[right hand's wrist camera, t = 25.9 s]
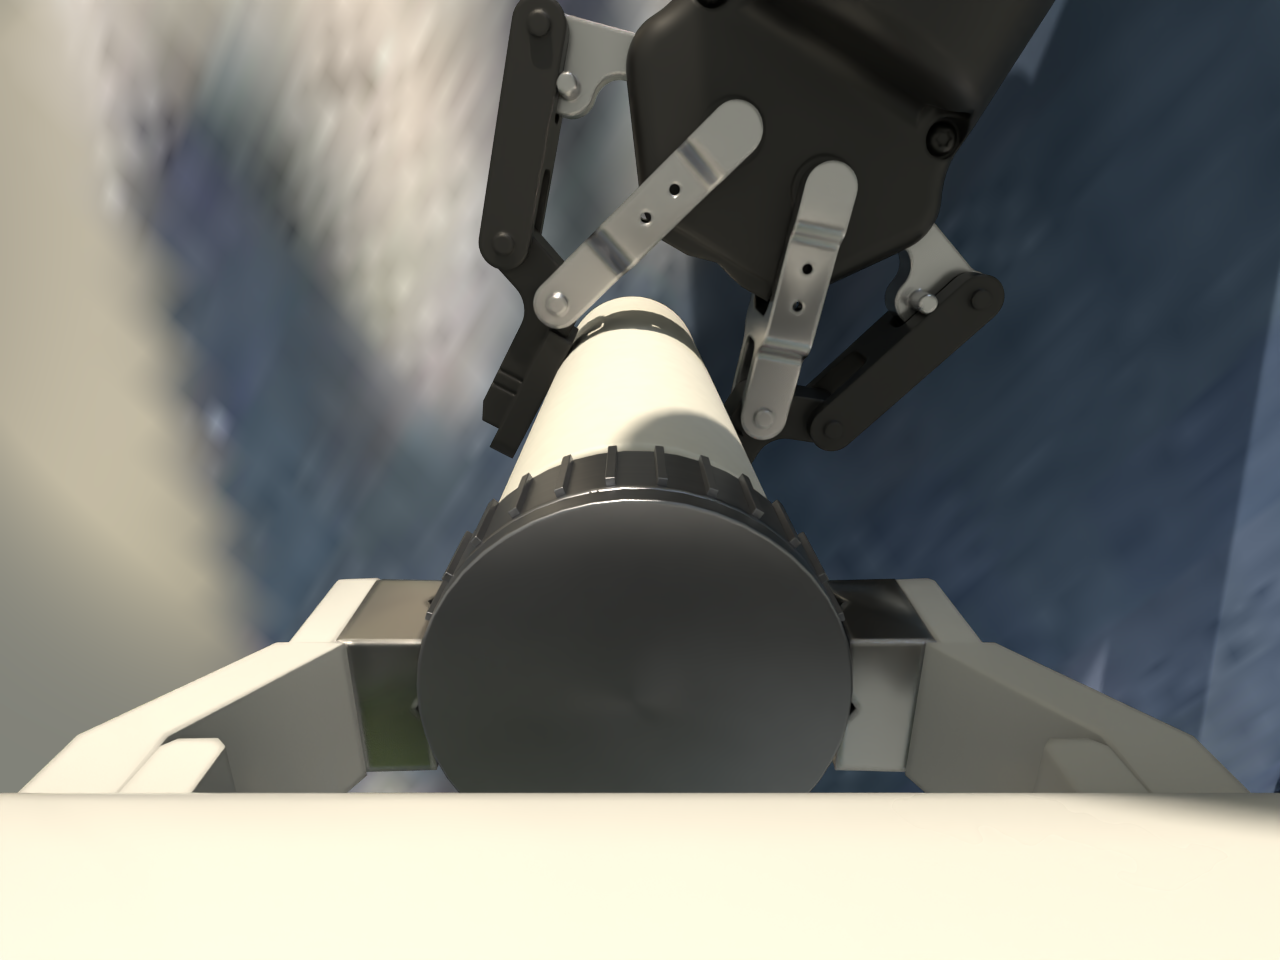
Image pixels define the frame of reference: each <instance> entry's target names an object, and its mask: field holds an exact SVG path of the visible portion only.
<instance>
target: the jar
mask: <svg viewBox="0 0 1280 960" xmlns="http://www.w3.org/2000/svg"><path fill="white" fill-rule="evenodd" d="M577 328H578V329H579V330H578V332H577V335H576V337H575V339H574V342H573V344H572V346H571V348H570V350H569V352H568V354H567V355H566V357H565V359H564V361H563V363H562V365H561V367H560V368H559V370H558V371H557V374H556V376H555V378H554V380H553V382H552V384H551V387H550V389H549V391H548V393H547V396H546V398H545V400H544V402H543V405H542V407H541V409H540V411H539V414H538V416H537V418H536V420H535V423H534V425H533V427H532V429H531V432H530V434H529V436H528V438H527V440H526V443H525V445H524V447H523V449H522V452H521V454H520V456H519V458H518V461H517V463H516V465H515V467H514V470H513V472H512V474H511V476H510V479H509V481H508V483H507V485H506V488H505V490H504V492H503V494H502V497H501V499H500V501H501V500H503V499H504V498H505V497H506V496H507V495H508V494H510V493H511V492H512V491H514V490H515V489H516V488H518V486H519V483H520V481H521V478H522V476H524V475H526V474H527V473H530V474H531V476H532V477H535V476H537V475H539V474H541V473H543V472H545V471H546V470H548V469H551V468H553V467H556V466H558V465H561V462H562V459H563V457H564V456H567V455H570V454H571V455H572V458H573V460H575V459H579V458H583V457H587V456H591V455H596V454H601V453H607V452H608V446H615V445H616V446H617V450H618V452H619V451H653V452H654V448H655V446H663V447H664V453H667V454H675V455H680V456H683V457H687V458H691V459H694V460H699V457H700V455H703V456H706V457H709V460H710V464H711V465H712V466H714V467H716V468H719V469H721V470H724V471H726V472H728V473H730V474H731V475H733V476H735V477H737V478H739V477H740V475H741V474H742V473H743V474H744V475H746V476H748V477H749V479H750V481H751V483H752V486H753V488H754V489H755V490H756V491H757V492H759V493H760V494H761V495H763V496H764V497H765V498H766V495H765V493H764V491H763V489H762V487H761V485H760V483H759V480H758V478H757V476H756V474H755V472H754V470H753V467H752V465H751V463H750V461H749V459H748V457H747V455H746V452H745V450H744V448H743V446H742V444H741V442H740V440H739V437H738V435H737V433H736V431H735V429H734V427H733V425H732V422H731V420H730V418H729V416H728V414H727V412H726V410H725V407H724V405H723V403H722V401H721V399H720V397H719V395H718V392H717V390H716V388H715V386H714V384H713V382H712V380H711V377H710V375H709V373H708V371H707V369H706V367H705V365H704V362H703V360H702V358H701V356H700V354H699V352H698V349H697V347H696V345H695V343H694V341H693V339H692V337H691V334H690V332H689V330H688V329H687V327H686V325H685V324H684V322H683V321H682V320H681V319H680V318H679V316H677V315H676V314H675V313H674V312H673V311H672V310H670V309H669V308H668V307H666V306H664V305H663V304H661V303H659V302H656V301H654V300H651V299H647V298H642V297H622V298H617V299H614V300H611V301H608V302H606V303H604V304H602V305H600V306H598V307H597V308H595V309H594V310H592V311H591V312H590V313H589V314H588V315H587V316H586V317H585V318H584V319H583V320H582V321H581V323H580V324H579V326H578V327H577ZM500 501H499V502H500Z"/></svg>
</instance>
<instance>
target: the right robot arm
mask: <svg viewBox="0 0 1280 960" xmlns="http://www.w3.org/2000/svg"><path fill="white" fill-rule="evenodd" d="M442 581H443V580H400V579H381V580H380V579H378V578H369V579H343V580H338V581H337V582H336V583H335V584H334V586H333V587H332V588H331V590H330V591H329V592H328V593H327V595H326V596H325V597H324V598H323V600H322V601H321V602H320V604H319V605H318V606H317V607H316V609H315V610H314V611H313V612H312V614H311V615H310V616H309V618H308V619H307V620H306V621H305V623H304V624H303V625H302V626H301V628H300V629H299V630H298V632H297V633H296V634H295V635H294V637H293V638H292V639H291V640H290V642H283V643H275V644H273V645H270V646H268V647H266V648H264V649H262V650H260V651H257V652H255V653H253V654H251V655H249V656H247V657H245V658H242V659H240V660H238V661H236V662H234V663H232V664H230V665H227V666H225V667H223V668H221V669H219V670H217V671H214V672H212V673H210V674H208V675H206V676H204V677H202V678H200V679H197V680H195V681H193V682H191V683H189V684H187V685H184V686H182V687H180V688H178V689H176V690H174V691H172V692H169V693H167V694H165V695H163V696H161V697H159V698H157V699H154V700H152V701H150V702H148V703H146V704H144V705H141V706H139V707H137V708H135V709H133V710H131V711H128V712H126V713H124V714H122V715H120V716H118V717H116V718H113V719H111V720H109V721H107V722H105V723H103V724H101V725H98V726H96V727H94V728H92V729H90V730H88V731H85V732H83V733H81V734H79V735H77V736H76V737H75V738H74V739H73V740H72V741H71V742H70V743H69V744H68V745H67V746H66V747H65V748H64V749H63V750H62V751H61V752H60V753H58V754H57V755H56V756H55V757H54V758H53V759H52V760H51V761H50V762H49V763H48V764H47V765H46V766H45V767H44V768H43V769H42V770H41V771H40V772H39V773H38V774H37V775H36V776H35V777H34V778H32V779H31V780H30V781H29V782H28V783H27V784H26V785H25V786H24V787H23V788H22V789H21V790H20V791H19V792H18V793H0V960H1280V793H1250V792H1249V791H1248V790H1247V789H1246V788H1245V787H1244V786H1243V785H1242V784H1241V783H1240V782H1239V781H1238V780H1237V779H1236V778H1235V777H1234V776H1233V775H1232V774H1231V773H1230V772H1229V771H1228V770H1227V769H1226V768H1225V767H1224V766H1223V765H1222V764H1221V763H1220V762H1219V761H1218V760H1217V759H1216V758H1215V757H1214V756H1213V755H1212V754H1211V753H1210V752H1209V751H1208V750H1207V749H1206V748H1205V747H1204V746H1203V745H1202V744H1201V743H1200V742H1199V741H1198V740H1197V739H1196V738H1195V737H1194V736H1192V735H1190V734H1187V733H1185V732H1183V731H1181V730H1179V729H1177V728H1175V727H1173V726H1170V725H1168V724H1166V723H1164V722H1162V721H1160V720H1158V719H1156V718H1154V717H1151V716H1149V715H1147V714H1145V713H1143V712H1141V711H1139V710H1137V709H1134V708H1132V707H1130V706H1128V705H1126V704H1124V703H1122V702H1120V701H1117V700H1115V699H1113V698H1111V697H1109V696H1107V695H1105V694H1103V693H1101V692H1098V691H1096V690H1094V689H1092V688H1090V687H1088V686H1086V685H1084V684H1081V683H1079V682H1077V681H1075V680H1073V679H1071V678H1069V677H1067V676H1064V675H1062V674H1060V673H1058V672H1056V671H1054V670H1052V669H1050V668H1048V667H1045V666H1043V665H1041V664H1039V663H1037V662H1035V661H1033V660H1031V659H1028V658H1026V657H1024V656H1022V655H1020V654H1018V653H1016V652H1014V651H1011V650H1009V649H1007V648H1005V647H1003V646H1001V645H999V644H997V643H989V642H982V641H981V640H980V639H979V637H978V636H977V635H976V633H975V632H974V631H973V630H972V628H971V627H970V626H969V624H968V623H967V622H966V621H965V619H964V618H963V617H962V615H961V614H960V613H959V611H958V610H957V609H956V608H955V606H954V605H953V604H952V602H951V601H950V600H949V598H948V597H947V596H946V595H945V593H944V592H943V591H942V589H941V588H940V587H939V586H938V584H937V583H936V582H935V581H934V580H931V579H929V578H920V579H898V580H895V579H868V580H828V581H827V582H828V584H829V586H830V588H831V590H832V592H833V594H834V596H835V598H836V600H837V602H838V604H839V606H840V608H841V609H842V611H843V614H844V617H845V620H844V621H841V623H842V626H843V628H844V631H845V634H846V637H847V640H848V644H849V650H850V655H851V661H852V670H853V693H852V701H851V708H850V715H849V718H848V722H847V725H846V729H845V732H844V736H843V739H842V741H841V743H840V745H839V747H838V750H837V752H836V754H835V756H834V758H833V760H832V761H833V764H834V767H835V770H857V771H894V772H905V775H906V776H907V777H908V778H909V779H910V780H912V781H913V782H914V783H915V784H916V785H917V786H918V787H919V788H921V789H922V790H923V791H924V792H925V793H347V792H348V791H349V790H350V789H352V788H353V787H354V786H355V785H356V784H357V783H358V782H360V781H361V780H362V779H363V778H364V777H365V776H367V774H366V772H377V771H413V770H437V767H438V762H437V760H436V759H435V757H434V755H433V752H432V750H431V748H430V745H429V743H428V741H427V738H426V736H425V732H424V728H423V725H422V721H421V717H420V713H419V707H418V697H417V687H416V685H417V667H418V659H419V654H420V649H421V645H422V640H423V637H424V634H425V631H426V629H427V626H428V624H429V621H427V620H425V616H426V613H427V611H428V609H429V607H430V605H431V603H432V601H433V599H434V597H435V595H436V593H437V591H438V589H439V587H440V585H441V583H442Z"/></svg>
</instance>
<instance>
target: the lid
mask: <svg viewBox="0 0 1280 960" xmlns="http://www.w3.org/2000/svg"><path fill="white" fill-rule="evenodd" d="M442 580H443V581H442V583H441V585H440V587H439V589H438V591H437V593H436V595H435V597H434V599H433V601H432V603H431V605H430V607H429V609H428V611H427V613H426V616H425V620H427V621H429V624H428V626H427V629H426V631H425V634H424V637H423V640H422V645H421V649H420V654H419V659H418V667H417V685H416V687H417V697H418V707H419V713H420V717H421V721H422V725H423V728H424V732H425V736H426V738H427V741H428V743H429V745H430V748H431V750H432V752H433V755H434V757H435V759H436V760H437V762H438V764H439V765H440V767H441V769H442V770H443V772H444V774H445V775H446V777H447V778H448V780H449V781H450V782H451V783H452V785H453V786H454V787H455V788H456V790H457V791H458V792H459V793H810V791H811V790H812V789H813V788H814V787H815V785H816V784H817V783H818V782H819V781H820V779H821V778H822V776H823V775H824V773H825V771H826V770H827V768H828V767H829V765H830V764H831V762H832V760H833V758H834V756H835V754H836V752H837V750H838V747H839V745H840V743H841V741H842V739H843V736H844V732H845V729H846V725H847V722H848V718H849V715H850V708H851V701H852V693H853V670H852V661H851V655H850V650H849V644H848V640H847V637H846V634H845V631H844V628H843V626H842V623H841V621H844V620H845V617H844V614H843V611H842V609H841V608H840V606H839V604H838V602H837V600H836V598H835V596H834V594H833V592H832V590H831V588H830V586H829V584H828V582H827V581H828V580H829V579H828V577H827V575H826V573H825V571H824V569H823V567H822V565H821V564H820V562H819V560H818V558H817V556H816V554H815V552H814V550H813V548H812V546H811V544H810V543H809V541H808V539H807V537H806V535H805V534H804V532H802V533H800V534H798V535H797V533H796V531H795V529H794V527H793V525H792V523H791V521H790V519H789V517H788V515H787V513H786V511H785V509H784V507H783V505H782V504H781V503H780V502H779V501H778V500H776V501H774V502H773V503H771V502H770V501H769V500H768V499H767V498H765V497H764V496H763V495H761V494H760V493H759V492H757V491H756V490H755V489H754V488H753V486H752V483H751V481H750V479H749V477H748V476H746V475H744V474H743V473H742V474H741V475H740V477H739V478H737V477H735V476H733V475H731V474H730V473H728V472H726V471H724V470H721V469H719V468H716V467H714V466H712V465H711V464H710V460H709V457H706V456H703V455H700V457H699V460H694V459H691V458H687V457H683V456H680V455H675V454H667V453H664V447H663V446H655V448H654V452H653V451H619V452H618V450H617V446H616V445H615V446H608V452H607V453H601V454H596V455H591V456H587V457H583V458H579V459H575V460H573V458H572V455H571V454H570V455H567V456H564V457H563V459H562V462H561V465H558V466H556V467H553V468H551V469H548V470H546V471H545V472H543V473H541V474H539V475H537V476H535V477H532V476H531V474H530V473H527V474H526V475H524V476H522V478H521V481H520V483H519V486H518V488H516V489H515V490H514V491H512V492H511V493H510V494H508V495H507V496H506V497H505V498H504V499H503V500H501V501H500V502H499V503H498V502H497V501H496V500H495V499H493V500H492V501H491V502H490V503H489V504H488V506H487V508H486V510H485V512H484V514H483V516H482V518H481V520H480V522H479V524H478V526H477V528H476V530H475V531H474V533H473V534H472V533H470V532H468V531H466V533H465V534H464V536H463V538H462V540H461V542H460V544H459V546H458V548H457V550H456V552H455V554H454V556H453V558H452V560H451V561H450V563H449V565H448V567H447V569H446V571H445V573H444V575H443V577H442Z"/></svg>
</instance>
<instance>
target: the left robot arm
mask: <svg viewBox="0 0 1280 960" xmlns="http://www.w3.org/2000/svg"><path fill="white" fill-rule="evenodd" d="M1054 2H1055V0H672V1H671V2H670V3H669V4H668V5H667V6H665V7H664V8H663V9H662V10H660V11H659V12H657V13H656V14H655V15H653V16H652V17H650V18H649V19H648V20H646V21H645V22H644V23H643V24H642V25H641V27H640V28H639V29H638V30H637V32H636V33H634V32H630V31H626V30H622V29H619V28H615V27H611V26H607V25H604V24H600V23H596V22H592V21H589V20H585V19H581V18H578V17H574V16H570V15H567V14H565V13H564V11H563V9H562V7H561V6H560V5H559V3H558V2H557V1H556V0H520V1H519V3H518V4H517V6H516V7H515V10H514V12H513V16H512V22H511V29H510V36H509V42H508V49H507V55H506V62H505V69H504V75H503V82H502V89H501V95H500V102H499V109H498V115H497V122H496V128H495V135H494V142H493V148H492V155H491V162H490V168H489V175H488V182H487V188H486V195H485V201H484V208H483V215H482V221H481V228H480V235H479V249H480V252H481V254H482V256H483V258H484V259H485V260H486V261H487V263H489V264H490V265H491V266H493V267H495V268H498V269H499V270H500V271H501V272H502V273H503V274H504V276H505V277H506V278H507V279H508V280H509V281H510V282H511V283H512V284H513V286H514V287H515V288H516V289H517V290H518V292H519V293H520V295H521V297H522V300H523V303H524V318H523V321H522V324H521V326H520V328H519V330H518V332H517V334H516V336H515V338H514V340H513V342H512V344H511V346H510V348H509V350H508V352H507V354H506V356H505V358H504V360H503V362H502V364H501V366H500V369H499V370H498V372H497V374H496V376H495V378H494V381H493V383H492V384H491V386H490V388H489V390H488V392H487V395H486V397H485V399H484V401H483V417H482V420H483V421H485V422H487V423H489V424H491V425H493V426H495V427H497V428H499V429H498V431H497V433H496V435H495V437H494V439H493V441H492V443H491V445H490V447H491V448H493V449H495V450H497V451H499V452H501V453H503V454H505V455H507V456H509V457H511V458H513V457H514V455H515V453H516V451H517V449H518V447H519V445H520V443H521V441H522V439H523V438H524V436H525V434H526V432H527V430H528V428H529V426H530V424H531V422H532V420H533V418H534V417H535V415H536V413H537V411H538V409H539V407H540V405H541V403H542V401H543V399H544V397H545V396H546V394H547V392H548V390H549V388H550V386H551V384H552V382H553V380H554V378H555V376H556V374H557V371H558V370H559V368H560V367H561V365H562V363H563V361H564V359H565V357H566V355H567V354H568V352H569V350H570V348H571V346H572V344H573V342H574V339H575V337H576V335H577V332H578V330H579V329H578V328H576V327H574V324H575V322H576V321H577V319H578V318H579V317H580V316H581V315H582V314H583V313H584V312H585V311H586V310H588V309H589V308H590V307H591V306H592V305H593V304H594V303H595V302H596V301H597V300H598V299H599V298H600V297H601V296H602V295H603V294H604V293H605V292H606V291H607V290H608V289H609V288H610V287H611V286H612V285H613V284H614V283H615V282H616V281H617V280H618V279H619V278H621V277H622V276H623V275H624V274H625V273H626V272H628V271H629V270H630V269H631V268H632V267H633V266H634V265H636V264H637V263H638V262H639V261H640V260H641V259H642V258H643V257H644V256H645V255H646V254H647V253H648V252H649V251H650V250H651V249H652V248H653V247H654V246H655V245H656V244H657V243H658V242H659V241H660V240H663V241H664V242H666V243H668V244H669V245H671V246H673V247H675V248H676V249H678V250H680V251H681V252H683V253H685V254H687V255H690V256H694V257H697V258H701V259H705V260H709V261H713V262H716V263H718V264H719V265H720V266H721V267H722V268H723V269H724V270H725V271H726V272H727V273H728V274H729V275H730V276H731V278H732V279H734V280H735V281H736V282H737V283H738V284H739V285H740V286H742V287H743V288H745V289H747V290H748V291H750V292H752V294H751V298H750V302H749V307H748V311H747V315H746V320H745V333H744V340H743V344H742V348H741V352H740V356H739V360H738V365H737V369H736V373H735V377H734V381H733V385H732V389H731V394H730V396H729V397H728V399H727V401H726V402H725V404H724V407H725V410H726V412H727V414H728V416H729V418H730V420H731V422H732V425H733V427H734V429H735V431H736V433H737V435H738V437H739V440H740V442H741V444H742V446H743V448H744V450H745V452H746V455H747V457H748V459H749V461H750V463H751V464H752V462H753V460H754V459H755V457H756V456H757V454H758V453H759V451H760V450H761V449H762V448H763V447H764V446H765V445H766V444H768V443H770V442H772V441H774V440H777V439H794V440H800V441H807V442H814V443H815V444H816V445H817V446H818V447H819V448H821V449H823V450H826V451H836V450H840V449H842V448H844V447H845V446H847V445H848V444H849V443H850V442H852V441H853V440H854V439H855V438H856V437H857V436H858V435H860V434H861V433H862V432H863V431H864V430H865V429H866V428H868V427H869V426H870V425H871V424H872V423H873V422H874V421H876V420H877V419H878V418H879V417H880V416H881V415H882V414H884V413H885V412H886V411H887V410H888V409H889V408H890V407H892V406H893V405H894V404H895V403H896V402H897V401H898V400H900V399H901V398H902V397H903V396H904V395H905V394H906V393H908V392H909V391H910V390H911V389H912V388H913V387H914V386H916V385H917V384H918V383H919V382H920V381H921V380H922V379H924V378H925V377H926V376H927V375H928V374H929V373H930V372H932V371H933V370H934V369H935V368H936V367H937V366H938V365H940V364H941V363H942V362H943V361H944V360H945V359H946V358H948V357H949V356H950V355H951V354H952V353H953V352H954V351H956V350H957V349H958V348H959V347H960V346H961V345H962V344H964V343H965V342H966V341H967V340H968V339H969V338H970V337H972V336H973V335H974V334H975V333H976V332H977V331H978V330H980V329H981V328H982V327H983V326H984V325H985V324H986V323H988V322H989V321H990V320H991V319H992V318H993V317H994V316H995V315H996V314H997V313H998V312H999V311H1000V309H1001V307H1002V305H1003V302H1004V289H1003V286H1002V284H1001V283H1000V282H999V280H997V279H996V278H995V277H993V276H990V275H986V274H983V273H981V272H978V271H975V270H973V269H972V268H971V267H970V266H969V264H968V263H967V262H966V261H965V259H964V258H963V257H962V256H961V255H960V253H959V252H958V251H957V250H956V249H955V247H954V246H953V245H952V244H951V242H950V241H949V240H948V239H947V238H946V236H945V235H944V234H943V233H942V232H941V230H940V229H939V228H938V227H937V225H936V224H935V221H936V219H937V216H938V214H939V210H940V206H941V197H942V189H943V184H944V180H945V176H946V173H947V170H948V167H949V165H950V163H951V160H952V159H953V157H954V155H955V154H956V152H957V150H958V149H959V148H960V146H961V145H962V143H963V142H964V141H965V139H966V138H967V136H968V135H969V133H970V132H971V131H972V129H973V128H974V126H975V125H976V123H977V121H978V120H979V118H980V117H981V115H982V114H983V112H984V111H985V109H986V107H987V106H988V104H989V103H990V101H991V100H992V98H993V96H994V95H995V93H996V92H997V90H998V89H999V87H1000V86H1001V84H1002V82H1003V81H1004V79H1005V78H1006V76H1007V75H1008V73H1009V72H1010V70H1011V68H1012V67H1013V65H1014V64H1015V62H1016V61H1017V59H1018V57H1019V56H1020V54H1021V53H1022V51H1023V50H1024V48H1025V47H1026V45H1027V43H1028V42H1029V40H1030V39H1031V37H1032V36H1033V34H1034V33H1035V31H1036V29H1037V28H1038V26H1039V25H1040V23H1041V22H1042V20H1043V19H1044V17H1045V15H1046V14H1047V12H1048V11H1049V9H1050V8H1051V6H1052V5H1053V3H1054ZM616 80H624V81H627V87H628V96H629V104H630V113H631V122H632V131H633V139H634V148H635V157H636V166H637V174H638V183H639V188H638V189H637V190H636V191H635V192H634V193H633V194H632V195H631V196H630V197H629V198H628V199H627V200H626V201H625V202H624V203H623V204H622V205H621V206H620V207H619V208H618V209H617V210H616V211H615V212H614V213H613V214H612V215H611V216H610V217H609V218H608V219H607V220H606V221H605V222H604V223H603V224H602V225H601V226H600V227H599V228H598V229H597V230H596V231H595V232H594V233H593V234H592V235H591V236H590V237H589V238H588V239H587V240H586V241H585V242H584V243H583V244H582V245H581V246H580V247H579V248H578V249H577V250H576V251H575V252H574V253H573V254H572V255H571V256H570V257H569V258H568V259H567V260H566V261H565V262H564V260H563V259H562V258H561V257H560V256H559V255H558V254H557V252H556V251H555V250H554V249H553V248H552V247H551V246H550V244H549V243H548V242H547V241H546V240H545V239H544V237H543V236H542V229H543V224H544V218H545V212H546V207H547V201H548V196H549V190H550V184H551V179H552V173H553V168H554V162H555V156H556V151H557V145H558V140H559V134H560V128H561V123H562V117H563V118H566V119H579V118H581V117H583V116H585V115H586V114H588V113H589V112H590V110H591V109H592V107H593V105H594V103H595V100H596V97H597V95H598V93H599V91H600V90H601V89H602V88H603V87H604V86H605V85H606V84H608V83H610V82H612V81H616ZM643 213H645V216H646V218H647V219H643V218H641V215H642V214H643ZM897 253H898V254H899V259H900V265H899V270H898V273H897V275H896V276H895V278H894V279H893V280H892V282H891V283H890V284H889V286H888V287H887V290H886V293H885V304H886V307H887V309H888V312H886V313H885V314H884V315H883V316H882V317H881V318H880V319H879V320H878V321H877V322H876V323H874V324H873V325H872V326H871V327H870V328H869V329H868V330H867V331H866V332H865V333H864V334H862V335H861V336H860V337H859V338H858V339H857V340H856V341H855V342H854V343H853V344H852V345H850V346H849V347H848V348H847V349H846V350H845V351H844V352H843V353H842V354H841V355H840V356H838V357H837V358H836V359H835V360H834V361H833V362H832V363H831V364H830V365H829V366H828V367H826V368H825V369H824V370H823V371H822V372H821V373H820V374H819V375H818V376H817V377H816V378H814V379H813V380H812V381H811V382H810V383H809V384H808V385H807V386H806V387H805V386H799V385H796V383H797V380H798V376H799V372H800V369H801V365H802V363H803V361H804V359H805V358H806V357H807V356H808V354H809V352H810V350H811V347H812V344H813V341H814V337H815V333H816V330H817V326H818V322H819V319H820V315H821V312H822V308H823V304H824V301H825V297H826V293H827V290H828V286H829V285H830V284H832V283H834V282H836V281H838V280H840V279H843V278H845V277H847V276H849V275H851V274H853V273H856V272H858V271H860V270H862V269H864V268H866V267H869V266H871V265H873V264H875V263H877V262H879V261H881V260H884V259H886V258H888V257H890V256H892V255H894V254H897ZM796 302H799V305H798V307H797V308H796Z"/></svg>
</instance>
